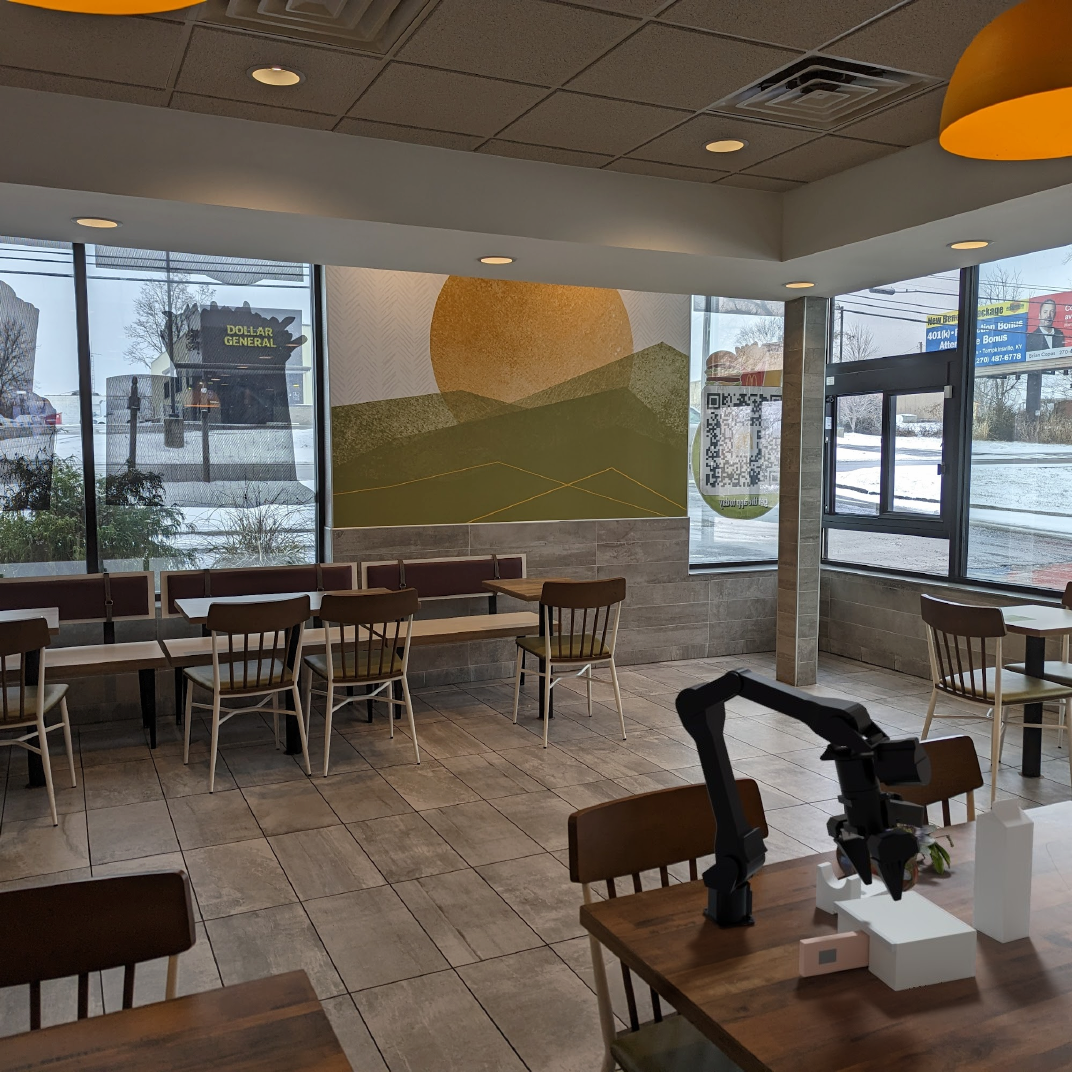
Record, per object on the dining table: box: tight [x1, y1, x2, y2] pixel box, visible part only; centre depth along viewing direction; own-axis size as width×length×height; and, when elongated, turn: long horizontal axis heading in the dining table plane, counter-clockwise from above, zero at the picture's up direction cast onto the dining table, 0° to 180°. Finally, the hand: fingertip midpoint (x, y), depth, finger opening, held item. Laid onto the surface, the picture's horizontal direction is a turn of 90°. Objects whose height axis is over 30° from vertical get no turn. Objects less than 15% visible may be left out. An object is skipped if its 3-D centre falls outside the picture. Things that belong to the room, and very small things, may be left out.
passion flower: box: [886, 823, 955, 875], centre depth 182 cm, size 11×11×12 cm
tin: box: [835, 846, 919, 892], centre depth 172 cm, size 15×3×8 cm, turn 41°
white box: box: [834, 890, 978, 992], centre depth 146 cm, size 15×14×7 cm
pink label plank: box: [798, 930, 870, 978], centre depth 144 cm, size 22×1×5 cm, turn 107°
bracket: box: [815, 861, 889, 915], centre depth 164 cm, size 13×7×8 cm, turn 123°
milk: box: [971, 796, 1035, 944], centre depth 154 cm, size 6×6×22 cm
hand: (882, 892), depth 143 cm, fingers open, 9 cm apart
